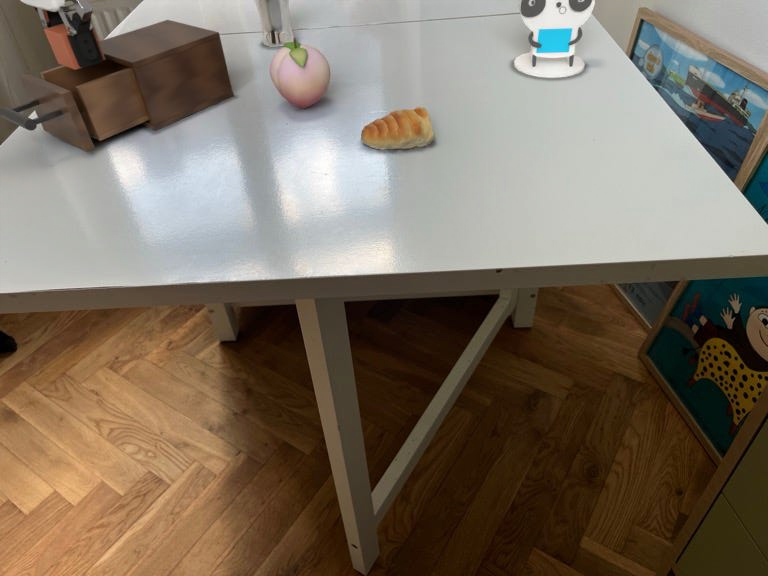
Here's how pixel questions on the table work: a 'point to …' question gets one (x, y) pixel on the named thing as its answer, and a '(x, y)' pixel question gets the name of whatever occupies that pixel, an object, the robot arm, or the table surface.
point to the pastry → (399, 130)
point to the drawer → (81, 102)
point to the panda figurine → (553, 36)
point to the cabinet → (173, 69)
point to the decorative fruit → (300, 73)
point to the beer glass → (275, 22)
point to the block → (64, 46)
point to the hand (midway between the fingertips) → (80, 59)
